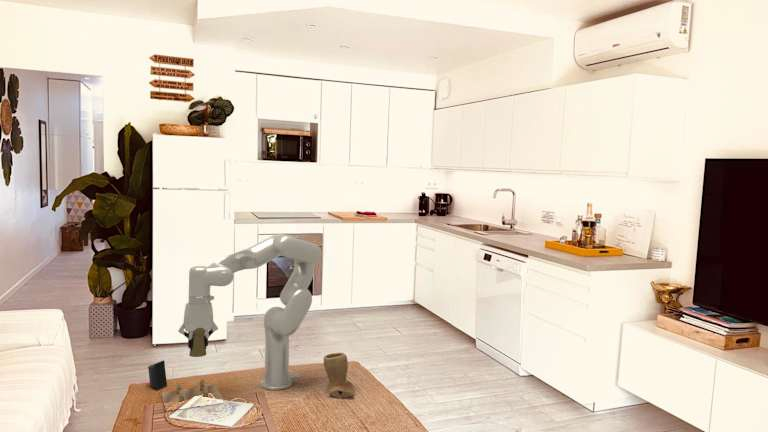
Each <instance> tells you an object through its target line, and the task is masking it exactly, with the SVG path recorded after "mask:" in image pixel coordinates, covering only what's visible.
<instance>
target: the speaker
mask: <svg viewBox="0 0 768 432" xmlns="http://www.w3.org/2000/svg"><path fill="white" fill-rule="evenodd" d="M147 368H148V377H149V386H150V388H155V389H156V391H159V390H162V389H164V388H166V387H168V382H167V381H168V380H167V374H166V363H165V360H164V359H163V360H161V361H158V362H156V363H153V364H150V365H149V366H147Z"/></svg>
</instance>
